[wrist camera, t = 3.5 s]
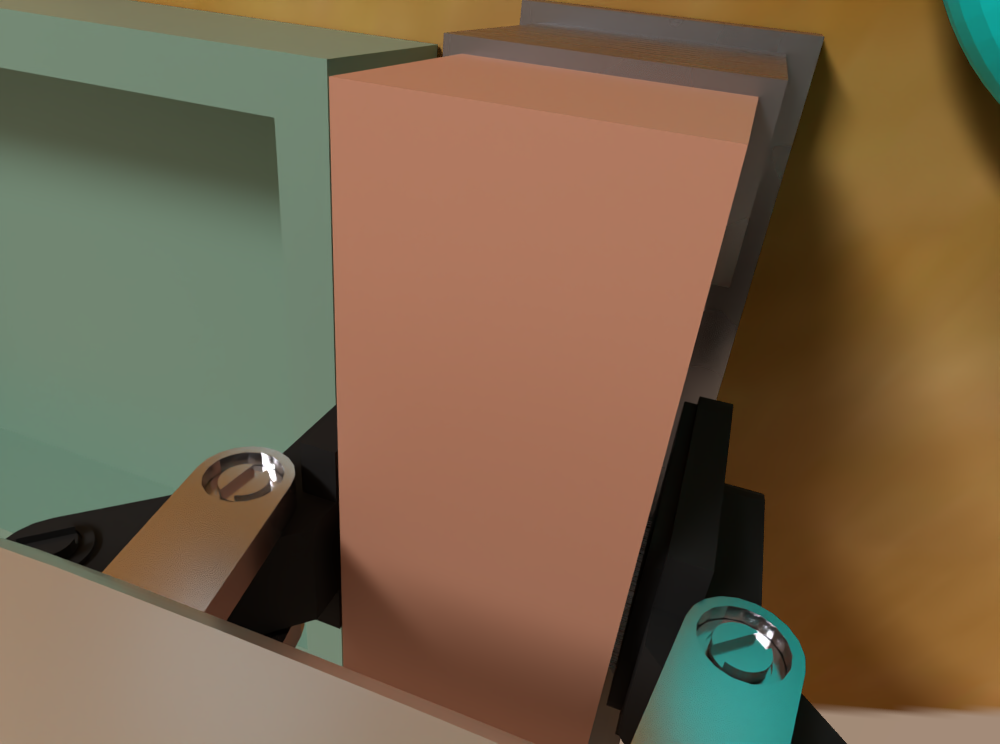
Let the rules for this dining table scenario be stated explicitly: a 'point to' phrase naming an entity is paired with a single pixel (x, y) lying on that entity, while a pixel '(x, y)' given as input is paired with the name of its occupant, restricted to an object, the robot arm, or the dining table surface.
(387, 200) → the strut
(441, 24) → the dining table surface
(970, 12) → the donuts
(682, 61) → the bracket
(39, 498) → the tray
